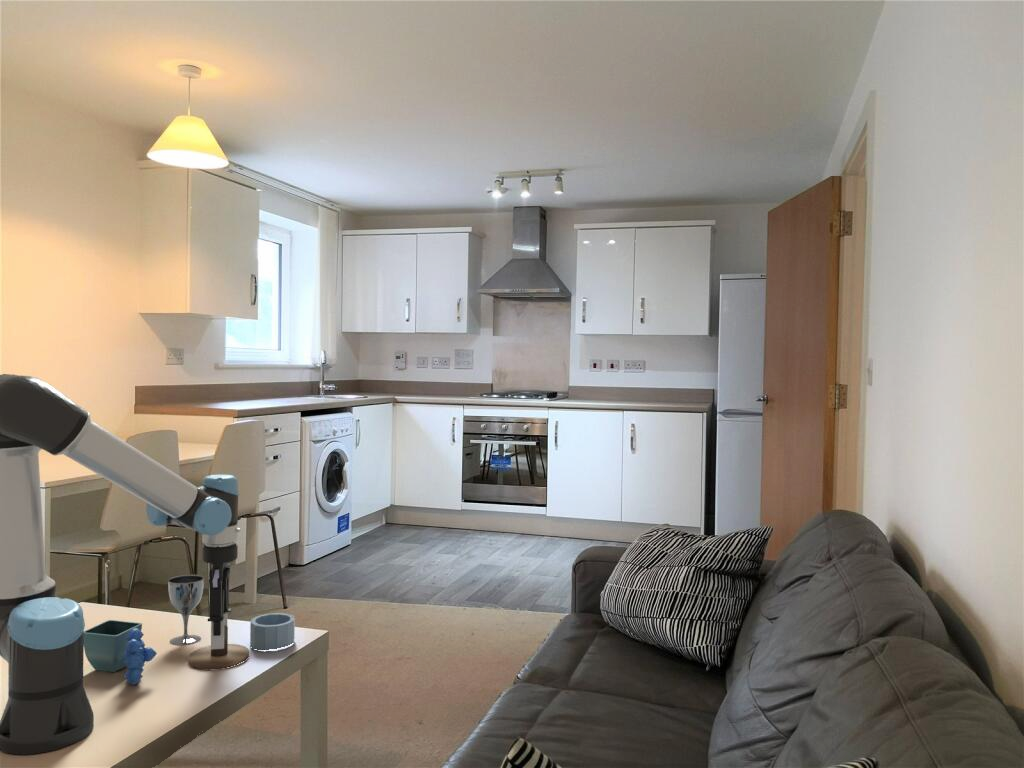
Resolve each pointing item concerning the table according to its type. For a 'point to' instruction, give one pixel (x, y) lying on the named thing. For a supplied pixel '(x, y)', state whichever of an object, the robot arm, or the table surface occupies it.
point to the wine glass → (185, 602)
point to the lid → (218, 655)
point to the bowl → (272, 631)
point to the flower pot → (108, 644)
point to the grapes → (136, 656)
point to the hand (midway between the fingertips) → (219, 644)
